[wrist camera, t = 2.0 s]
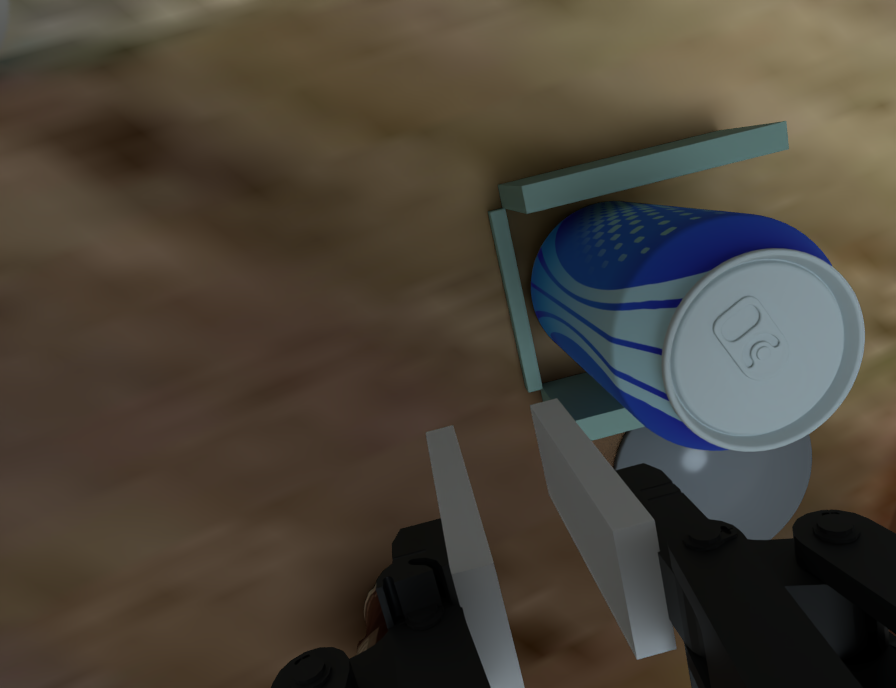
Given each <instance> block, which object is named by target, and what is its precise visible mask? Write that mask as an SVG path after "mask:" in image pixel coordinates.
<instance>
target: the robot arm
mask: <svg viewBox="0 0 896 688" xmlns="http://www.w3.org/2000/svg"><path fill="white" fill-rule="evenodd" d="M530 409H531V413H532V418H533V423H534V427H535V432H536V436H537V441H538V446H539V450H540V455H541V460H542V464H543V469H544V474H545V478H546V483H547V487H548V492H549V495H550V497H551V499H552V501H553V503H554V505H555V507H556V509H557V510H558V512H559V514H560V516H561V518H562V520H563V522H564V524H565V525H566V527H567V529H568V531H569V533H570V535H571V537H572V539H573V540H574V542H575V544H576V546H577V548H578V550H579V552H580V554H581V555H582V557H583V559H584V561H585V563H586V565H587V567H588V569H589V570H590V572H591V574H592V576H593V578H594V580H595V582H596V584H597V585H598V587H599V589H600V591H601V593H602V595H603V597H604V599H605V600H606V602H607V604H608V606H609V608H610V610H611V612H612V614H613V615H614V617H615V619H616V621H617V623H618V625H619V627H620V629H621V630H622V632H623V634H624V636H625V638H626V640H627V642H628V643H629V645H630V647H631V649H632V651H633V653H634V655H635V657H636V658H637V660H638V659H641V658H645V657H649V656H652V655H656V654H659V653H663V652H667V651H670V650H674V649H677V648H676V643H675V637H674V631H673V626H674V627H675V629H676V630H677V632H678V633H679V635H680V636H681V638H682V639H683V641H684V644H685V650H686V656H687V662H688V668H689V674H690V680H691V686H692V688H896V636H894V635H893V634H891V633H890V632H889V631H888V629H889V630H891V631H892V632H894V633H895V634H896V534H895V533H894V532H892V531H890V530H888V529H886V528H885V527H883V526H881V525H879V524H877V523H876V522H874V521H872V520H870V519H868V518H866V517H863V516H861V515H858V514H856V513H852V512H846V511H840V510H820V511H816V512H811V513H807V514H805V515H804V516H802V517H800V518H798V519H797V520H796V522H795V523H794V525H793V527H792V528H793V538H792V539H775V540H751V539H747V538H746V536H745V535H744V534H743V533H742V532H741V531H740V530H739V529H738V528H736V527H735V526H734V525H732V524H729V523H726V522H723V521H720V520H711V519H708V518H707V517H706V516H705V515H704V514H703V513H702V512H701V511H700V510H699V509H698V508H697V507H696V505H695V504H694V503H693V502H692V501H691V500H690V499H689V498H688V497H687V496H686V495H685V494H684V493H682V492H681V490H680V489H679V488H678V487H677V486H676V485H675V484H673V482H672V481H671V480H670V478H669V477H668V476H667V475H666V474H665V473H664V472H663V471H662V470H660V469H657V468H655V467H652V466H650V465H648V464H645V463H641V464H637V465H634V466H630V467H626V468H622V469H619V470H614V469H613V468H612V466H611V465H610V464H609V463H608V461H607V460H606V459H605V458H604V456H603V455H602V454H601V453H600V451H599V450H598V449H597V448H596V446H595V445H594V444H593V443H592V441H591V440H590V439H589V438H588V436H587V435H586V434H585V433H584V431H583V430H582V429H581V428H580V426H579V425H578V424H577V423H576V421H575V420H574V419H573V418H572V416H571V415H570V414H569V413H568V411H567V410H566V409H565V408H564V406H563V405H562V404H561V403H560V401H559V400H558V399H557V398H556V399H552V400H548V401H545V402H541V403H537V404H533V405H530ZM426 438H427V443H428V449H429V454H430V460H431V466H432V471H433V477H434V482H435V488H436V494H437V499H438V505H439V510H440V516H441V518H440V519H436V520H432V521H429V522H425V523H421V524H417V525H414V526H410V527H406V528H402V529H400V531H399V532H398V534H397V536H396V538H395V539H394V541H393V543H392V558H393V564H391V565H390V566H389V567H387V568H386V569H385V570H383V572H382V573H381V575H380V576H379V577H378V579H377V582H376V592H377V595H378V599H379V602H380V605H381V608H382V612H383V615H384V618H385V621H386V625H387V628H388V632H387V633H386V634H385V635H384V637H383V638H382V639H381V640H379V641H378V642H377V643H376V644H375V645H373V646H372V647H370V648H369V649H367V650H365V651H364V652H362V653H360V654H358V655H356V656H354V657H352V658H350V659H349V658H348V657H347V655H346V654H345V653H344V651H342V650H339V649H336V648H334V647H323V648H317V649H313V650H310V651H307V652H304V653H303V654H301V655H299V656H298V657H296V658H294V659H293V660H291V661H290V662H289V663H288V664H287V665H286V666H285V667H284V668H283V669H281V670H280V672H279V673H278V675H277V677H276V678H275V680H274V682H273V684H272V686H271V688H525V687H524V683H523V679H522V675H521V671H520V667H519V663H518V659H517V655H516V651H515V647H514V643H513V639H512V635H511V631H510V627H509V623H508V619H507V615H506V611H505V607H504V603H503V599H502V595H501V591H500V587H499V583H498V578H497V574H496V570H495V566H494V562H493V559H492V556H491V552H490V549H489V546H488V542H487V539H486V535H485V532H484V529H483V525H482V522H481V518H480V515H479V512H478V508H477V505H476V501H475V498H474V495H473V491H472V488H471V485H470V481H469V478H468V474H467V471H466V468H465V464H464V461H463V457H462V454H461V451H460V447H459V444H458V440H457V437H456V434H455V430H454V427H453V425H452V426H448V427H444V428H441V429H437V430H433V431H429V432H426ZM672 624H673V625H672Z"/></svg>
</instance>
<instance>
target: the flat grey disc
mask: <svg viewBox="0 0 896 688" xmlns="http://www.w3.org/2000/svg"><path fill="white" fill-rule="evenodd" d="M641 463H645V464H648V465H650V466H652V467H655V468H657V469H660V470H662V471H663V472H664V473H665V474H666V475H667V476H668V477H669V478H670V480H671V481H672V482H673V484H675V485H676V486H677V487H678V488H679V489H680V490H681V492H682V493H684V494H685V495H686V496H687V497H688V498H689V499H690V500H691V501H692V502H693V503H694V504H695V505H696V507H697V508H698V509H699V510H700V511H701V512H702V513H703V514H704V515H705V516H706V517H707V518H708V519H711V520H720V521H723V522H726V523H729V524H732V525H734V526H735V527H736V528H738V529H739V530H740V531H741V532H742V533H743V534H744V535H745V536H746V538H747V539H751V540H770V539H771V538H773V537H774V536H775V535H776V534H777V533H778V532H779V531H780V530H781V529H782V528H783V527H784V526H785V525H786V523H787V522H788V521H789V520H790V519H791V517H792V516H793V514H794V513H795V511H796V510H797V508H798V506H799V504H800V502H801V501H802V499H803V497H804V494H805V491H806V489H807V486H808V482H809V478H810V474H811V465H812V448H811V442H810V437H809V434H808V435H806V436H804V437H803V438H801V439H799V440H797V441H795V442H793V443H790V444H788V445H785V446H782V447H779V448H775V449H771V450H766V451H757V452H743V451H734V450H722V451H709V450H698V449H693V448H687V447H684V446H680V445H677V444H675V443H672V442H670V441H667V440H665V439H664V438H662V437H660V436H658V435H656V434H655V433H653V432H652V431H651V430H649V429H648V428H646V427H641V428H637V429H634V430H630V431H626V433H625V435H624V437H623V439H622V441H621V444H620V446H619V448H618V452H617V455H616V458H615V463H614V470H619V469H622V468H626V467H630V466H634V465H637V464H641Z"/></svg>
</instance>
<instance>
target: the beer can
mask: <svg viewBox="0 0 896 688" xmlns="http://www.w3.org/2000/svg"><path fill="white" fill-rule="evenodd" d="M531 296H532V302H533V307H534V310H535V313H536V316H537V318H538V320H539V322H540V324H541V326H542V327H543V329H544V330H545V332H546V333H547V334H548V336H549V337H550V338H551V339H552V340H553V341H554V342H555V343H556V344H557V345H558V346H560V347H561V348H562V349H563V350H564V351H565V352H566V353H567V354H568V355H569V356H570V357H571V358H572V359H573V360H574V361H575V362H577V363H578V364H579V365H580V366H581V367H582V368H583V369H584V370H585V371H586V372H587V373H588V374H589V375H590V376H591V377H593V378H594V379H595V380H596V381H597V382H598V383H599V384H600V385H601V386H602V387H603V388H604V389H605V390H606V391H607V392H609V393H610V394H611V395H612V396H613V397H614V398H615V399H616V400H617V401H618V402H619V403H620V404H621V405H622V406H623V407H624V408H626V409H627V410H628V411H629V412H630V413H631V414H632V415H633V416H634V417H635V418H636V419H637V420H638V421H639V422H641V423H642V424H643V425H644V426H645V427H646V428H648V429H649V430H651V431H652V432H653V433H655V434H656V435H658V436H660V437H662V438H664V439H665V440H667V441H670V442H672V443H675V444H677V445H680V446H684V447H687V448H693V449H698V450H709V451H722V450H734V451H743V452H757V451H766V450H771V449H775V448H779V447H782V446H785V445H788V444H790V443H793V442H795V441H797V440H799V439H801V438H803V437H804V436H806V435H808V434H809V433H811V432H812V431H814V430H815V429H816V428H818V427H819V426H820V425H821V424H823V423H824V422H825V421H826V420H827V419H828V418H829V417H830V416H831V415H832V414H833V413H834V412H835V411H836V410H837V408H838V407H839V406H840V405H841V403H842V402H843V400H844V399H845V398H846V396H847V394H848V393H849V391H850V389H851V387H852V385H853V383H854V381H855V379H856V377H857V374H858V371H859V369H860V365H861V362H862V357H863V352H864V343H865V329H864V320H863V315H862V311H861V308H860V305H859V302H858V300H857V297H856V295H855V293H854V291H853V290H852V288H851V286H850V285H849V284H848V282H847V281H846V280H845V278H844V277H843V276H842V275H841V274H840V273H839V272H838V271H837V270H836V269H834V268H833V267H832V265H831V263H830V261H829V260H828V259H827V257H826V256H825V254H824V253H823V252H822V251H821V250H820V249H819V248H818V246H817V245H816V244H815V243H814V242H813V241H811V240H810V239H809V238H808V237H807V236H806V235H804V234H803V233H801V232H800V231H798V230H797V229H795V228H793V227H791V226H790V225H788V224H786V223H783V222H780V221H778V220H775V219H772V218H768V217H764V216H761V215H754V214H745V213H735V212H725V211H714V210H704V209H694V208H684V207H673V206H663V205H653V204H642V203H632V202H622V201H609V202H601V203H596V204H593V205H589V206H587V207H584V208H582V209H580V210H578V211H576V212H574V213H572V214H571V215H569V216H568V217H566V218H565V219H564V220H563V221H561V222H560V223H559V224H558V225H557V226H556V227H555V228H554V229H553V230H552V231H551V233H550V234H549V235H548V237H547V238H546V239H545V241H544V242H543V244H542V246H541V248H540V250H539V252H538V254H537V257H536V259H535V262H534V266H533V270H532V276H531Z"/></svg>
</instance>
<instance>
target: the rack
mask: <svg viewBox="0 0 896 688" xmlns="http://www.w3.org/2000/svg"><path fill="white" fill-rule="evenodd" d="M787 149H789V146H788V135H787V124H786V121H783V122H776V123H769V124H762V125H755V126H748V127H741V128H733V129H726V130H719V131H715V132H711V133H707V134H703V135H699V136H694V137H690V138H686V139H682V140H678V141H674V142H670V143H666V144H662V145H658V146H654V147H650V148H646V149H642V150H638V151H634V152H629V153H625V154H621V155H617V156H613V157H609V158H605V159H601V160H597V161H593V162H589V163H585V164H581V165H577V166H573V167H569V168H564V169H560V170H556V171H552V172H548V173H544V174H540V175H536V176H532V177H528V178H524V179H520V180H516V181H512V182H508V183H504V184H499V185H498V189H499V194H500V199H501V203H502V208H500V209H496V210H492V211H488V216H489V220H490V225H491V229H492V234H493V239H494V243H495V248H496V253H497V257H498V262H499V267H500V271H501V276H502V280H503V285H504V290H505V294H506V299H507V304H508V308H509V313H510V318H511V322H512V327H513V331H514V336H515V341H516V345H517V350H518V355H519V359H520V364H521V369H522V373H523V378H524V382H525V387H526V389H527V391H528V392H533V391H536V390H541V394H542V399H543V402H545V401H548V400H552V399H556V398H557V399H558V400H559V401H560V403H561V404H562V405H563V406H564V408H565V409H566V410H567V411H568V413H569V414H570V415H571V416H572V418H573V419H574V420H575V421H576V423H577V424H578V425H579V426H580V428H581V429H582V430H583V431H584V433H585V434H586V435H587V436H588V438H589V439H590V440H591V441H592V440H596V439H599V438H603V437H607V436H611V435H615V434H618V433H622V432H626V431H630V430H634V429H637V428H641V427H645V426H644V425H643V424H642V423H641V422H639V421H638V420H637V419H636V418H635V417H634V416H633V415H632V414H631V413H630V412H629V411H628V410H627V409H626V408H624V407H623V406H622V405H621V404H620V403H619V402H618V401H617V400H616V399H615V398H614V397H613V396H612V395H611V394H610V393H609V392H607V391H606V390H605V389H604V388H603V387H602V386H601V385H600V384H599V383H598V382H597V381H596V380H595V379H594V378H593V377H591V376H590V375H589V374H588V373H587V372H586V373H582V374H578V375H574V376H570V377H566V378H563V379H559V380H555V381H551V382H547V383H543V384H542V383H541V378H540V373H539V368H538V363H537V359H536V354H535V349H534V344H533V339H532V335H531V330H530V325H529V320H528V315H527V311H526V306H525V301H524V296H523V291H522V287H521V282H520V277H519V272H518V267H517V263H516V258H515V253H514V248H513V243H512V239H511V234H510V229H509V224H508V219H507V215H506V210H505V209H509V210H513V211H517V212H521V213H525V214H529V213H533V212H537V211H541V210H545V209H549V208H553V207H557V206H561V205H565V204H569V203H573V202H577V201H581V200H585V199H589V198H593V197H597V196H601V195H605V194H609V193H614V192H618V191H622V190H626V189H630V188H634V187H638V186H642V185H646V184H650V183H654V182H658V181H662V180H666V179H670V178H674V177H678V176H682V175H686V174H690V173H694V172H698V171H702V170H706V169H710V168H714V167H718V166H722V165H726V164H730V163H734V162H738V161H742V160H746V159H750V158H754V157H758V156H763V155H767V154H771V153H775V152H779V151H783V150H787Z"/></svg>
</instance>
